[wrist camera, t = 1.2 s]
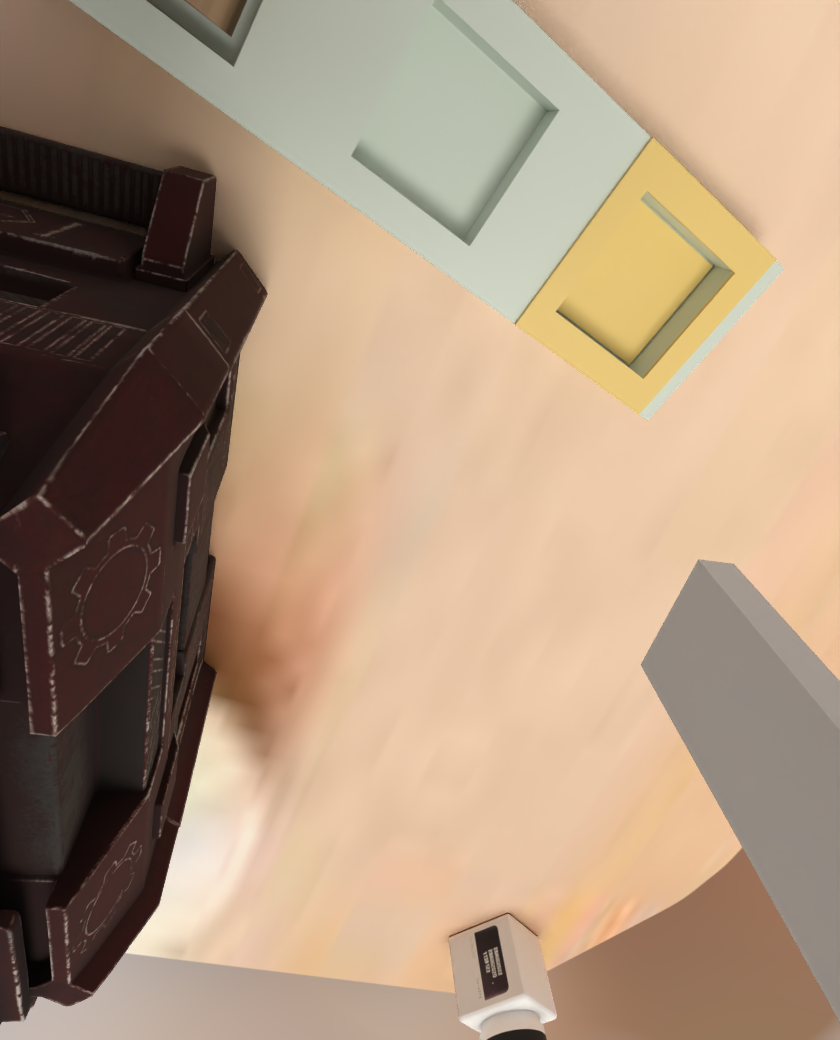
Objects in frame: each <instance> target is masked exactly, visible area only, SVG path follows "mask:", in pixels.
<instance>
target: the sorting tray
mask: <svg viewBox="0 0 840 1040" xmlns="http://www.w3.org/2000/svg"><path fill="white" fill-rule="evenodd" d="M69 1H70V2H72V3H73V4H75V5H76V6H77V7H79V8H80V9H81V10H83V11H84V12H86V13H87V14H88V15H90V16H91V17H92V18H94V19H95V20H97V21H98V22H99V23H101V24H102V25H103V26H105V27H106V28H108V29H109V30H110V31H112V32H113V33H115V34H116V35H117V36H119V37H120V38H121V39H123V40H124V41H126V42H127V43H128V44H130V45H131V46H132V47H134V48H135V49H137V50H138V51H139V52H141V53H142V54H143V55H145V56H146V57H148V58H149V59H150V60H152V61H153V62H154V63H156V64H157V65H159V66H160V67H161V68H163V69H164V70H165V71H167V72H168V73H170V74H171V75H172V76H174V77H175V78H176V79H178V80H179V81H181V82H182V83H183V84H185V85H186V86H187V87H189V88H190V89H192V90H193V91H194V92H196V93H197V94H198V95H200V96H201V97H203V98H204V99H205V100H207V101H208V102H209V103H211V104H212V105H214V106H215V107H216V108H218V109H219V110H221V111H222V112H223V113H225V114H226V115H227V116H229V117H230V118H232V119H233V120H234V121H236V122H237V123H238V124H240V125H241V126H243V127H244V128H245V129H247V130H248V131H249V132H251V133H252V134H254V135H255V136H256V137H258V138H259V139H260V140H262V141H263V142H265V143H266V144H267V145H269V146H270V147H271V148H273V149H274V150H276V151H277V152H278V153H280V154H281V155H282V156H284V157H285V158H287V159H288V160H289V161H291V162H292V163H293V164H295V165H296V166H298V167H299V168H300V169H302V170H303V171H304V172H306V173H307V174H309V175H310V176H311V177H313V178H314V179H315V180H317V181H318V182H320V183H321V184H322V185H324V186H325V187H327V188H328V189H329V190H331V191H332V192H333V193H335V194H336V195H338V196H339V197H340V198H342V199H343V200H344V201H346V202H347V203H349V204H350V205H351V206H353V207H354V208H355V209H357V210H358V211H360V212H361V213H362V214H364V215H365V216H366V217H368V218H369V219H371V220H372V221H373V222H375V223H376V224H377V225H379V226H380V227H382V228H383V229H384V230H386V231H387V232H388V233H390V234H391V235H393V236H394V237H395V238H397V239H398V240H399V241H401V242H402V243H404V244H405V245H406V246H408V247H409V248H410V249H412V250H413V251H415V252H416V253H417V254H419V255H420V256H422V257H423V258H424V259H426V260H427V261H428V262H430V263H431V264H433V265H434V266H435V267H437V268H438V269H439V270H441V271H442V272H444V273H445V274H446V275H448V276H449V277H450V278H452V279H453V280H455V281H456V282H457V283H459V284H460V285H461V286H463V287H464V288H466V289H467V290H468V291H470V292H471V293H472V294H474V295H475V296H477V297H478V298H479V299H481V300H482V301H483V302H485V303H486V304H488V305H489V306H490V307H492V308H493V309H494V310H496V311H497V312H499V313H500V314H501V315H503V316H504V317H505V318H507V319H508V320H510V321H511V322H512V323H514V324H515V325H516V326H517V327H519V328H520V329H521V330H523V331H524V332H526V333H527V334H528V335H530V336H531V337H532V338H534V339H535V340H537V341H538V342H539V343H541V344H542V345H543V346H545V347H546V348H548V349H549V350H550V351H552V352H553V353H554V354H556V355H557V356H559V357H560V358H561V359H563V360H564V361H566V362H567V363H568V364H570V365H571V366H572V367H574V368H575V369H577V370H578V371H579V372H581V373H582V374H583V375H585V376H586V377H588V378H589V379H590V380H592V381H593V382H594V383H596V384H597V385H599V386H600V387H601V388H603V389H604V390H605V391H607V392H608V393H610V394H611V395H612V396H614V397H615V398H616V399H618V400H619V401H621V402H622V403H623V404H625V405H626V406H627V407H629V408H630V409H632V410H633V411H634V412H636V413H637V414H638V415H640V416H642V417H643V418H645V419H646V420H647V421H648V420H649V419H650V418H651V417H652V416H653V414H654V413H655V412H656V411H657V410H658V409H659V408H660V407H661V406H662V404H663V403H664V402H665V401H666V400H667V399H668V398H669V397H670V396H671V394H672V393H673V392H674V391H675V390H676V389H677V388H678V387H679V386H680V384H681V383H682V382H683V381H684V380H685V379H686V378H687V377H688V376H689V374H690V373H691V372H692V371H693V370H694V369H695V368H696V367H697V366H698V364H699V363H700V362H701V361H702V360H703V359H704V358H705V357H706V356H707V354H708V353H709V352H710V351H711V350H712V349H713V348H714V347H715V346H716V344H717V343H718V342H719V341H720V340H721V339H722V338H723V337H724V336H725V334H726V333H727V332H728V331H729V330H730V329H731V328H732V327H733V326H734V324H735V323H736V322H737V321H738V320H739V319H740V318H741V317H742V316H743V314H744V313H745V312H746V311H747V310H748V309H749V308H750V307H751V306H752V304H753V303H754V302H755V301H756V300H757V299H758V298H759V297H760V296H761V294H762V293H763V292H764V291H765V290H766V289H767V288H768V287H769V286H770V284H771V283H772V282H773V281H774V280H775V279H776V278H777V277H778V276H779V274H780V273H781V272H782V271H783V270H784V268H783V267H782V266H781V265H780V264H779V263H778V262H777V261H776V260H777V259H776V258H775V257H774V256H773V255H772V254H771V253H770V252H769V251H768V250H767V249H766V248H765V247H764V246H763V245H762V244H761V243H760V242H759V241H758V240H757V239H756V238H755V237H754V236H753V235H752V234H751V233H750V232H749V231H748V230H747V229H746V228H745V227H744V226H743V225H742V224H741V223H740V222H739V221H737V220H736V219H735V218H734V217H733V216H732V215H731V214H730V213H729V212H728V211H727V210H726V209H725V208H724V207H723V206H722V205H721V204H720V203H719V202H718V201H717V200H716V199H715V198H714V197H713V196H712V195H711V194H710V193H709V192H708V191H707V190H706V189H705V188H704V187H703V186H702V185H701V184H700V183H699V182H698V181H697V180H696V179H695V178H694V177H693V176H692V175H691V174H690V173H689V172H688V171H687V170H686V169H685V168H684V167H683V166H682V165H681V164H680V163H679V162H678V161H677V160H676V159H675V158H674V157H673V156H672V155H671V154H670V153H669V152H668V151H667V150H666V149H665V148H664V147H663V146H662V145H661V144H660V143H659V142H658V141H657V140H656V139H655V138H654V137H650V136H649V135H648V134H647V133H646V132H645V131H644V130H643V129H642V128H641V127H640V126H639V125H638V124H637V123H636V122H635V121H634V120H633V119H632V118H631V117H630V116H629V115H628V114H627V113H626V112H625V111H624V110H623V109H622V108H621V107H620V106H619V105H618V104H617V103H616V102H615V101H614V100H613V99H612V98H611V97H610V96H609V95H608V94H607V93H606V92H605V91H604V90H603V89H602V88H601V87H600V86H599V85H598V84H597V83H596V82H595V81H594V80H593V79H592V78H591V77H590V76H589V75H588V74H587V73H586V72H585V71H584V70H583V69H582V68H581V67H580V66H579V65H578V64H577V63H575V62H574V61H573V60H572V59H571V58H570V57H569V56H568V55H567V54H566V53H565V52H564V51H563V50H562V49H561V48H560V47H559V46H558V45H557V44H556V43H555V42H554V41H553V40H552V39H551V38H550V37H549V36H548V35H547V34H546V33H545V32H544V31H543V30H542V29H541V28H540V27H539V26H538V25H537V24H536V23H535V22H534V21H533V20H532V19H531V18H530V17H529V16H528V15H527V14H526V13H525V12H524V11H523V10H522V9H521V8H520V7H519V6H518V5H517V4H516V3H515V2H514V1H513V0H247V2H246V4H245V7H244V9H243V11H242V14H241V16H240V18H239V21H238V23H237V25H236V28H235V30H234V32H233V35H232V37H230V36H229V35H228V34H227V33H225V32H224V31H223V30H221V29H220V28H219V27H218V26H216V25H215V24H214V23H213V22H211V21H210V20H209V19H207V18H206V17H205V16H204V15H202V14H201V13H200V12H198V11H197V10H196V9H195V8H193V7H192V6H191V5H189V4H188V3H187V2H186V1H184V0H69Z"/></svg>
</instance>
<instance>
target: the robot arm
mask: <svg viewBox="0 0 840 1040" xmlns="http://www.w3.org/2000/svg"><path fill="white" fill-rule="evenodd" d="M641 666H642V668H643V670H644V671H645V673H646V675H647V677H648V679H649V680H650V682H651V684H652V686H653V688H654V689H655V691H656V693H657V695H658V697H659V698H660V700H661V702H662V704H663V706H664V707H665V709H666V711H667V713H668V715H669V716H670V718H671V720H672V722H673V723H674V725H675V727H676V729H677V731H678V732H679V734H680V736H681V738H682V740H683V741H684V743H685V745H686V747H687V749H688V750H689V752H690V754H691V756H692V758H693V759H694V761H695V763H696V765H697V767H698V768H699V770H700V772H701V774H702V776H703V777H704V779H705V781H706V783H707V785H708V786H709V788H710V790H711V792H712V793H713V795H714V797H715V799H716V801H717V802H718V804H719V806H720V808H721V810H722V811H723V813H724V815H725V817H726V819H727V820H728V822H729V824H730V826H731V828H732V829H733V831H734V833H735V835H736V837H737V838H738V840H739V842H740V844H741V846H742V847H743V849H744V851H745V853H746V855H747V856H748V858H749V860H750V862H751V863H752V865H753V867H754V869H755V871H756V872H757V874H758V876H759V878H760V880H761V881H762V883H763V885H764V887H765V889H766V890H767V892H768V894H769V896H770V897H771V899H772V901H773V903H774V905H775V906H776V908H777V910H778V911H779V914H780V916H781V917H782V919H783V921H784V923H785V924H786V926H787V928H788V930H789V932H790V933H791V935H792V937H793V939H794V941H795V942H796V944H797V946H798V948H799V950H800V951H801V953H802V955H803V957H804V959H805V960H806V962H807V964H808V966H809V967H810V969H811V971H812V973H813V975H814V976H815V978H816V980H817V982H818V984H819V986H820V987H821V989H822V991H823V993H824V994H825V996H826V998H827V1000H828V1002H829V1003H830V1005H831V1007H832V1009H833V1011H834V1012H835V1014H836V1016H837V1018H838V1020H839V1021H840V681H839V680H838V679H837V678H836V677H835V675H834V674H833V673H832V672H831V671H830V670H829V669H828V668H827V667H826V665H825V664H824V663H823V662H822V661H821V660H820V659H819V658H818V657H817V655H816V654H815V653H814V652H813V651H812V650H811V649H810V648H809V647H808V646H807V644H806V643H805V642H804V641H803V640H802V639H801V638H800V637H799V636H798V634H797V633H796V632H795V631H794V630H793V629H792V628H791V627H790V626H789V624H788V623H787V622H786V621H785V620H784V619H783V618H782V617H781V616H780V614H779V613H778V612H777V611H776V610H775V609H774V608H773V607H772V606H771V604H770V603H769V602H768V601H767V600H766V599H765V598H764V597H763V596H762V594H761V593H760V592H759V591H758V590H757V589H756V588H755V587H754V586H753V585H752V583H751V582H750V581H749V580H748V579H747V578H746V577H745V576H744V575H743V573H742V572H741V571H740V570H739V569H738V568H737V567H736V566H735V565H734V564H731V563H723V562H714V561H706V560H698V561H697V563H696V565H695V567H694V568H693V570H692V572H691V574H690V576H689V578H688V579H687V581H686V583H685V585H684V587H683V589H682V590H681V592H680V594H679V596H678V598H677V600H676V601H675V603H674V605H673V607H672V609H671V610H670V612H669V614H668V616H667V618H666V620H665V621H664V623H663V625H662V627H661V629H660V631H659V632H658V634H657V636H656V638H655V640H654V642H653V643H652V645H651V647H650V649H649V651H648V652H647V654H646V656H645V658H644V660H643V662H642V663H641Z"/></svg>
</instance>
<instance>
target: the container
mask: <svg viewBox="0 0 840 1040" xmlns="http://www.w3.org/2000/svg"><path fill="white" fill-rule="evenodd" d="M449 945H450V953H451V961H452V969H453V977H454V984H455V992H456V1000H457V1007H458V1016H459V1020H460V1021H461V1022H462V1023H464V1024H465V1025H467V1026H469V1027H471V1028H473V1029H474V1030H476V1031H478V1032H480V1033H481V1034H480V1036H479V1039H480V1040H546V1035H545V1031H544V1026H543V1023H546V1022H549V1021H552V1020H554V1019H556V1017H557V1013H556V1010H555V1005H554V1001H553V997H552V992H551V988H550V984H549V980H548V976H547V972H546V967H545V963H544V959H543V955H542V951H541V946H540V942H539V939H538V937H537V936H535V935H534V934H533V933H532V932H531V931H529V930H528V929H527V928H526V927H524V926H523V925H522V924H521V923H520V922H518V921H517V920H516V919H515V918H513V917H512V916H511V915H510V914H505V915H503V916H500V917H498V918H495V919H493V920H490V921H488V922H486V923H483V924H481V925H478V926H476V927H473V928H471V929H468V930H466V931H463V932H461V933H458V934H456V935H453V936H451V937H450V938H449Z"/></svg>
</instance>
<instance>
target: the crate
mask: <svg viewBox="0 0 840 1040" xmlns="http://www.w3.org/2000/svg"><path fill="white" fill-rule="evenodd" d="M0 190H3V191H7V192H11V193H14V194H18V195H22V196H26V197H30V198H34V199H38V200H41V201H45V202H49V203H53V204H57V205H61V206H65V207H69V208H72V209H76V210H80V211H84V212H88V213H92V214H96V215H99V216H103V217H107V218H111V219H115V220H119V221H123V222H126V223H130V224H134V225H138V226H142V227H146V228H149V229H148V233H147V236H146V237H145V236H141V235H138V234H134V233H130V232H126V231H122V230H118V229H114V228H110V227H106V226H102V225H98V224H94V223H90V222H87V221H83V220H79V219H75V218H71V217H67V216H63V215H59V214H55V213H51V212H47V211H44V210H40V209H36V208H32V207H28V206H24V205H20V204H16V203H12V202H8V201H5V200H1V199H0V1024H1V1023H2V1022H19V1021H20V1022H21V1021H24V1020H25V1019H26V1016H27V1014H28V1012H29V1010H30V1008H32V1007H33V1006H34V1004H35V1001H36V999H37V997H44V998H46V999H48V1000H51V1001H53V1002H56V1003H59V1004H61V1005H63V1006H71V1005H74V1004H76V1003H78V1002H81V1001H83V1000H85V999H87V998H90V997H92V996H93V994H94V993H95V992H96V990H97V989H98V988H99V987H100V985H101V984H102V983H103V982H104V980H105V979H106V978H107V977H108V975H109V974H110V973H111V971H112V970H113V968H114V967H115V965H116V964H117V963H118V962H119V960H120V959H121V957H122V956H123V955H124V953H125V952H126V951H127V949H128V948H129V946H130V945H131V944H132V942H133V941H134V940H135V938H136V937H137V935H138V934H139V933H140V931H141V930H142V929H143V927H144V926H145V924H146V923H147V922H148V920H149V919H150V917H151V916H152V915H153V913H154V912H155V911H156V909H157V907H158V906H159V904H160V900H161V896H162V892H163V888H164V884H165V880H166V876H167V872H168V868H169V864H170V860H171V856H172V852H173V848H174V844H175V840H176V836H177V833H178V829H179V827H180V825H181V821H182V817H183V812H184V808H185V804H186V800H187V796H188V791H189V787H190V783H191V779H192V774H193V770H194V766H195V762H196V758H197V753H198V749H199V745H200V741H201V737H202V732H203V728H204V724H205V720H206V715H207V711H208V707H209V703H210V699H211V694H212V690H213V686H214V682H215V678H216V673H217V672H216V671H215V670H214V669H213V668H212V667H210V666H209V665H208V664H207V663H206V662H205V661H204V655H205V646H206V637H207V629H208V620H209V612H210V603H211V595H212V587H213V579H214V570H215V562H216V558H215V557H214V556H210V555H208V553H209V544H210V535H211V526H212V517H213V508H214V500H215V498H216V495H217V492H218V489H219V486H220V483H221V481H222V478H223V475H224V472H225V469H226V467H227V460H228V452H229V444H230V435H231V426H232V417H233V409H234V400H235V392H236V383H237V375H238V366H239V358H240V351H241V349H242V347H243V345H244V343H245V341H246V339H247V337H248V335H249V332H250V330H251V328H252V326H253V324H254V322H255V320H256V318H257V316H258V313H259V311H260V309H261V307H262V305H263V303H264V301H265V299H266V297H267V295H268V294H267V292H266V290H265V288H264V287H263V285H262V284H261V282H260V281H259V279H258V278H257V277H256V275H255V274H254V272H253V271H252V269H251V268H250V266H249V265H248V264H247V262H246V261H245V259H244V258H243V256H242V255H241V254H240V253H239V252H238V251H237V250H236V251H233V252H231V253H230V254H229V255H227V256H226V257H224V258H223V259H221V260H220V261H218V262H217V263H215V264H214V256H213V255H210V249H211V237H212V226H213V214H214V202H215V191H216V176H213V175H210V174H206V173H203V172H199V171H196V170H192V169H189V168H185V167H181V166H179V167H174V168H169V169H165V170H164V172H162V171H158V170H155V169H151V168H147V167H144V166H140V165H137V164H133V163H130V162H126V161H122V160H119V159H115V158H112V157H108V156H105V155H101V154H98V153H94V152H90V151H87V150H83V149H80V148H76V147H73V146H69V145H65V144H62V143H58V142H55V141H51V140H48V139H44V138H40V137H37V136H33V135H30V134H26V133H23V132H19V131H15V130H12V129H8V128H5V127H1V126H0Z"/></svg>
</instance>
